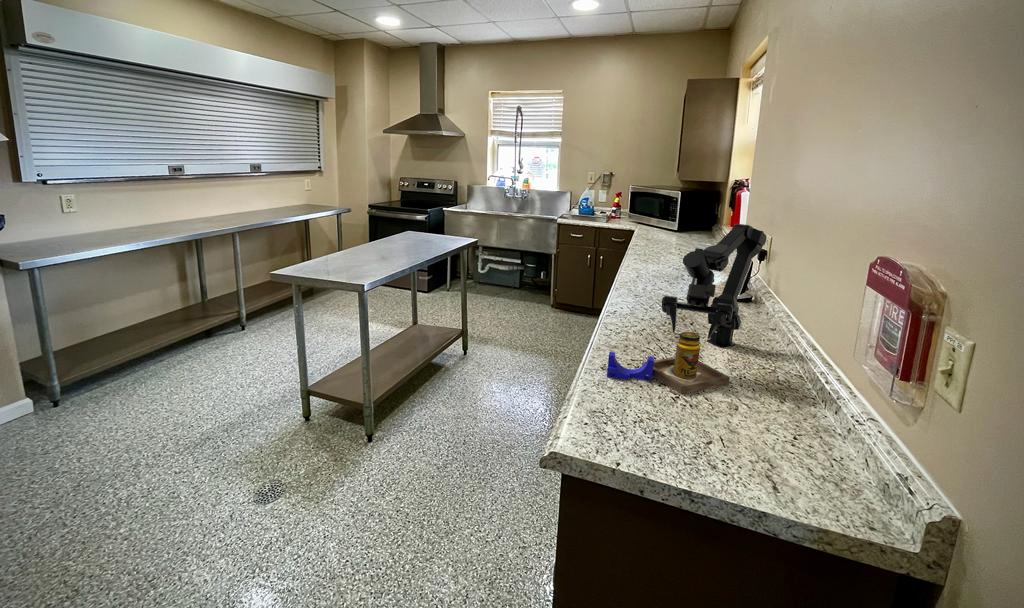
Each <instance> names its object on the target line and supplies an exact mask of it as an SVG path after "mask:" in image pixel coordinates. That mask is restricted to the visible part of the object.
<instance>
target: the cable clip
mask: <svg viewBox="0 0 1024 608" xmlns="http://www.w3.org/2000/svg"><path fill="white" fill-rule="evenodd" d="M654 360H655V356H650V355H648V357H647V359H646V361H645V362H646V363H645V364H644V365H643V366H642V365H641V366H640V367H638V368H635V369H634V368H633V369H631V368H627V367H624V366H622V365H621V363H619V362H618V359H617V358H616V352H614V351H609V353H608V360H607V361H608V362H607V369H606V370H607V371H606V378H611V379H620V380H624V381H625V380H626V381H629V380H630V379H636V380H642V381H650V382H651V381H653V377H652V374H653V365H654Z"/></svg>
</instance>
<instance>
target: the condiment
mask: <svg viewBox="0 0 1024 608" xmlns="http://www.w3.org/2000/svg"><path fill="white" fill-rule="evenodd" d="M700 339H701V336H700V335H699V334H698V333H695V332H693V331H683V332H681V333H679V338H678V342H677V344H676V349H675V356H674V357H675V363H674V366H673V365H671V366H670V367H669V368H668V369H667V370H666V371H665V372H663V373H665V374H667V375H669V376H673V377H675V378H678V379H682V380H685V381H689V382H693V381H694V380H695V379H696V378H697V377H698V376H699V375H700V374H701V373H698V372H697V366H698V361H699V359H700V350H701V346H700V345H701V344H700Z"/></svg>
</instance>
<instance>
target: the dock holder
mask: <svg viewBox="0 0 1024 608" xmlns="http://www.w3.org/2000/svg"><path fill="white" fill-rule="evenodd" d="M645 363H646V361H642V362H641V367H642V366H643V365H644V364H645ZM674 363H675V356H673V357H666V358H662V359H661V358H660V359H654V365H653V374H652V378H653V379H656V380H657V381H659V382H660V383H662V384H664V385H665V386H666V387H668V388H670V389H671V390H674V391H675V392H676V393H678V394H679V395H685V394H689V393H695V392H699V391H705V390H709V389H710V390H711V389H713V388H718V387H719V388H720V387H725V386H728V385H729V384H730V380H731V377H730V376H729V375H727V374H725V373H723V372H721V371H719V370H717V369H715V368H713V367H711V366H710V365H708V364H706V363H704V362H702V361H699V360H698V366H697V372H698V373H701V374H700V375H699V376H698V377H697V378H696V379H695V380H694V381H693V382H689V381H685V380H682V379H678V378H675V377H673V376H669V375H667V374H665V373H663V372H665V371H666V370H667V369H668V368H669V367H670V366H671V365H673V366H674Z"/></svg>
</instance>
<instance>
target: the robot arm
mask: <svg viewBox="0 0 1024 608" xmlns="http://www.w3.org/2000/svg"><path fill="white" fill-rule="evenodd" d="M766 242H767V235H766V234H765V232H764V231H763V230H761V229H760V230H759V229H757V228H754V226H751V225H749V224H742V223H735V224H734V225H733V226H732V228H731V229H730V231H729V232H728V233H726V235H724V237H722V239H721V240H720V241H718V242H717V243H716V244H715V245H709V246H708V247H706V248H704V249H703V248H699V247H696V248H695V250H693V251H690V252H688V253H686V254H685V255H684V256H683V259H682V264H683V266H684V268H685V269H686V271H687V274H688V275H689V276H690V278H692V280H691V283H689V284H688V289H687V293H686V298H685V299H686V302H682V301H681V302H680V301H679V300H678V296H670V295H664V296H663V297H662V299H661V309H662V312H663V313H666V315H667V316H668V317H670V320H671V326H672V333H673V334H674V333H675V332H676V328H677V327H676V326H677V318H678V313H677V312H678V310H683V311H688V312H689V311H690V312H697V313H704V314H707V323H708V325H710V327H709V331H708V335H707V339H706V342H708V343H710V344H712V345H715V346H716V347H719V348H726V347H732V346H736V343H735V342H733V336H734V331H735V330H737V331H738V330H739V329H740V327H741V323H742V320H741V317H740V314H739V309H740V308H739V304H738V301H737V300H738V297H739V295H740V292H741V290H742V286H743V283H744V282H745V279H746V275H747V273H748V271H749V267H750V266H751V263H752V259H754V258H755V256H757V255H758V254H760V253H761V250H762V249H763V247H764V246H765V244H766ZM735 250H736V255H735V258H734V261H733V263H732V265H731V268H730V272H729V273H728V276H727V279H726V282H725V284H724V287H723V290H722V292H721V294H720V295H719V296H715V293H716V287H717V285H716V284H714V282H715V273H714V272H720V273H721V272H723V271H724V270H725V269H726V267H727V266H728V264H729V262H730V261H729V257H730V256H731V255H732V254H733V252H734V251H735ZM710 298H713V299H712V302H711V304H710V300H711V299H710ZM709 304H710V305H709Z"/></svg>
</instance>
